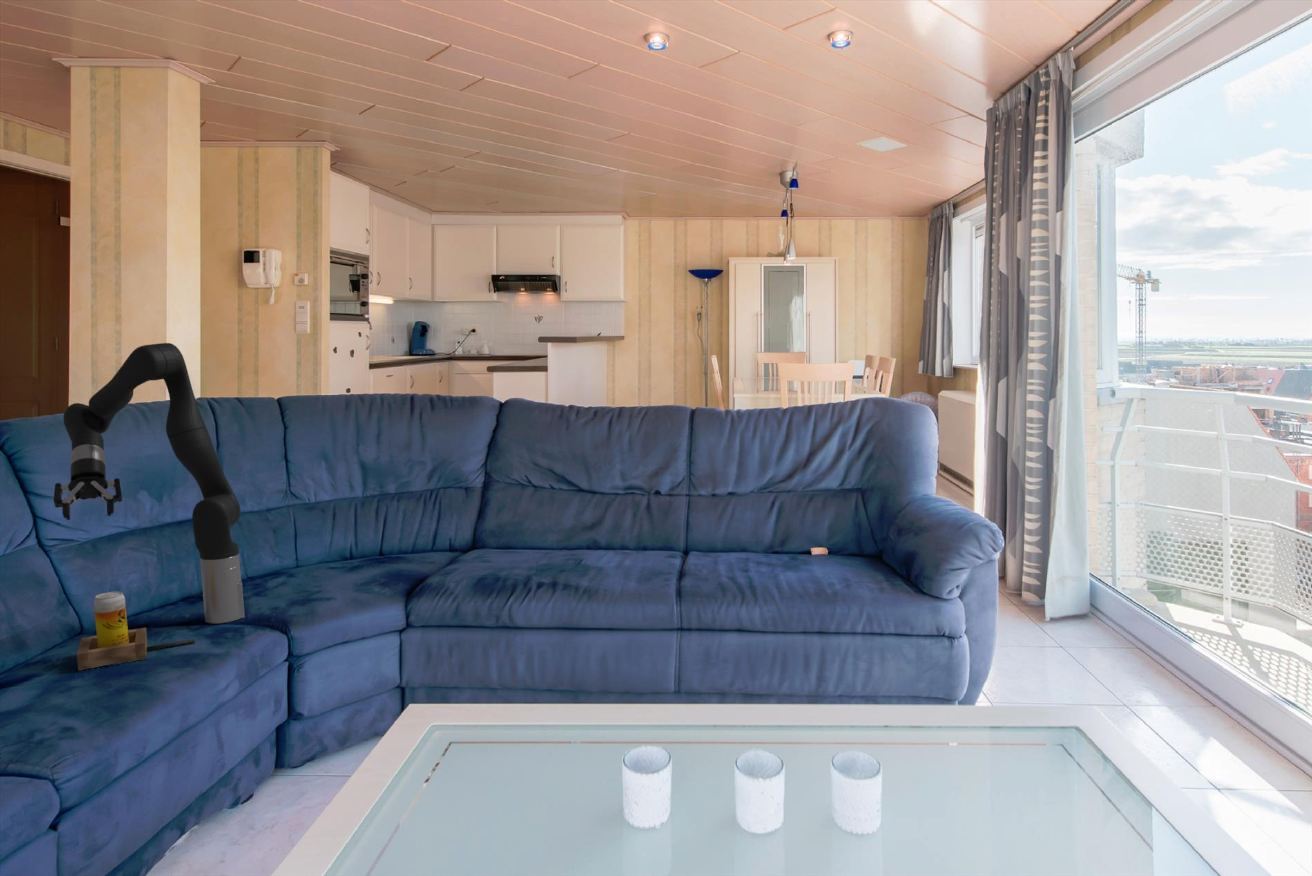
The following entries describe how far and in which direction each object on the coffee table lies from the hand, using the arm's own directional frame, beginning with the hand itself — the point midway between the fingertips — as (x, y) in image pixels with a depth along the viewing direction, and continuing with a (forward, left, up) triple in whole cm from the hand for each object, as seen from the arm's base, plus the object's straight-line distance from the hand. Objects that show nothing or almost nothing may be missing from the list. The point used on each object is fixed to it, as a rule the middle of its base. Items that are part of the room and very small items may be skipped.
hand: (88, 516), depth 205 cm
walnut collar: (-9, +22, -31) cm, 39 cm away
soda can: (-4, +21, -31) cm, 38 cm away
